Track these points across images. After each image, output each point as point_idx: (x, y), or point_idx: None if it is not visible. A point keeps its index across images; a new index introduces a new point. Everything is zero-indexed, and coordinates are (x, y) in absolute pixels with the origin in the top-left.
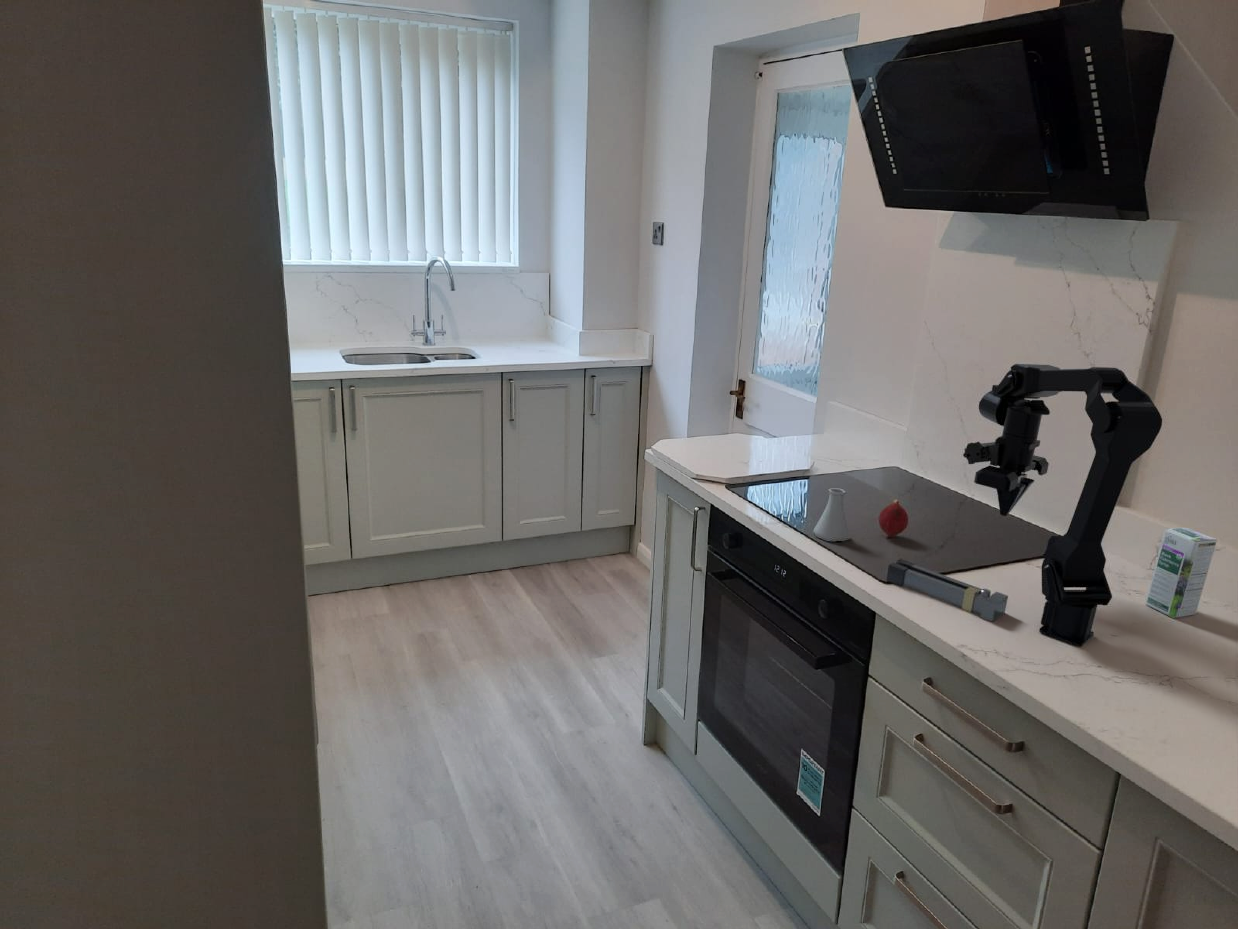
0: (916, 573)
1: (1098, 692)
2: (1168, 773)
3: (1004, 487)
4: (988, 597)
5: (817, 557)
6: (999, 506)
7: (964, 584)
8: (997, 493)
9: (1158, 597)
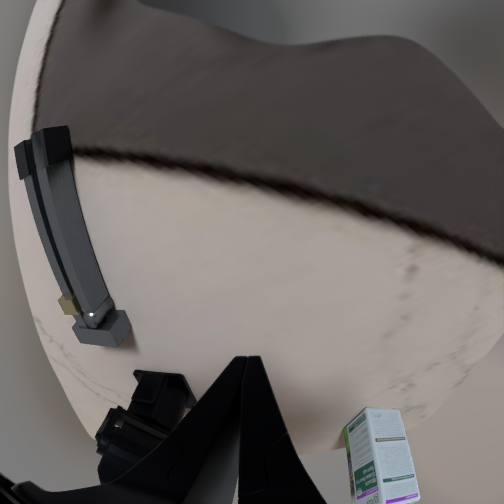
0: (31, 198)
1: (108, 411)
2: (89, 429)
3: (18, 497)
4: (83, 329)
5: (29, 25)
6: (209, 389)
7: (74, 283)
8: (148, 454)
9: (358, 430)
